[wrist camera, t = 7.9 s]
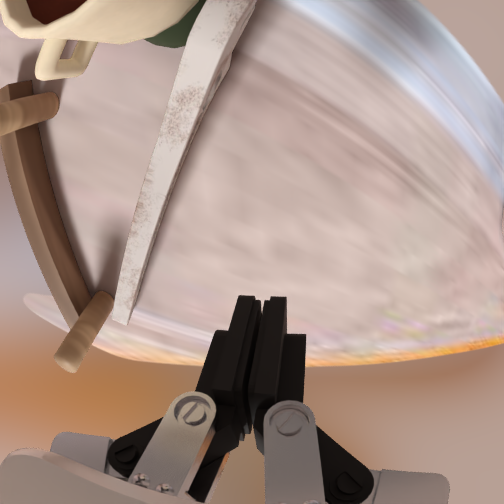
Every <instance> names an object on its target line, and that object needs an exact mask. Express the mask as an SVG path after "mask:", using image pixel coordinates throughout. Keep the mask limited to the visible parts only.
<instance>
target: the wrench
mask: <svg viewBox="0 0 504 504" xmlns="http://www.w3.org/2000/svg"><path fill="white" fill-rule="evenodd" d="M256 1H257V0H207V1H206V2H205V4H204V6H203V8H202V9H201V11H200V13H199V15H198V17H197V19H196V21H195V23H194V25H193V27H192V30H191V32H190V34H189V37H188V40H187V42H186V46H185V49H184V52H183V55H182V59H181V62H180V65H179V68H178V72H177V75H176V78H175V82H174V85H173V89H172V92H171V96H170V99H169V102H168V105H167V109H166V112H165V115H164V119H163V122H162V126H161V129H160V133H159V137H158V140H157V143H156V146H155V149H154V151H153V154H152V157H151V160H150V163H149V167H148V170H147V173H146V176H145V179H144V182H143V186H142V189H141V192H140V196H139V199H138V203H137V206H136V210H135V213H134V217H133V221H132V225H131V228H130V232H129V236H128V240H127V244H126V249H125V253H124V257H123V262H122V266H121V271H120V276H119V280H118V285H117V290H116V296H115V301H114V306H113V312H112V320H114V321H117V322H119V323H121V324H124V325H126V326H127V325H128V323H129V320H130V317H131V315H132V312H133V309H134V306H135V303H136V299H137V296H138V292H139V289H140V285H141V282H142V278H143V275H144V272H145V269H146V265H147V262H148V259H149V256H150V253H151V250H152V246H153V243H154V240H155V237H156V234H157V231H158V229H159V226H160V223H161V220H162V217H163V214H164V211H165V209H166V206H167V203H168V200H169V198H170V195H171V192H172V189H173V187H174V184H175V182H176V179H177V176H178V174H179V171H180V169H181V166H182V164H183V161H184V159H185V156H186V154H187V152H188V149H189V147H190V144H191V142H192V140H193V137H194V135H195V133H196V131H197V128H198V126H199V124H200V122H201V120H202V118H203V116H204V114H205V112H206V110H207V108H208V106H209V104H210V102H211V100H212V98H213V96H214V94H215V92H216V90H217V89H218V87H219V85H220V83H221V81H222V80H223V78H224V76H225V75H226V73H227V71H228V70H229V68H230V62H231V56H232V51H233V49H234V48H235V46H236V44H237V42H238V40H239V38H240V36H241V34H242V32H243V30H244V28H245V26H246V24H247V22H248V20H249V19H250V17H251V15H252V13H253V11H254V9H255V6H256V5H255V3H256Z"/></svg>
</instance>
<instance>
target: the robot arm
mask: <svg viewBox="0 0 504 504" xmlns="http://www.w3.org/2000/svg"><path fill="white" fill-rule="evenodd" d="M502 234H503V241H504V210H503V217H502ZM305 354H306V334H287V298H286V297H274V296H271V298H270V300H265V301H264V306H263V311H261V301H260V300H255V296H244V295H239V296H238V299H237V303H236V306H235V310H234V313H233V316H232V320H231V323H230V327H229V330H228V331H225V330H216V331H215V333H214V336H213V339H212V342H211V345H210V348H209V351H208V354H207V357H206V360H205V363H204V366H203V369H202V373H201V375H200V378H199V381H198V384H197V387H196V390H195V392H187V393H184V394H182V395H180V396H179V397H177V398H176V399H175V400H174V401H173V402H172V403H171V405H170V407H169V409H168V410H167V412H166V414H165V416H164V417H162V418H160V419H159V420H157V421H154V422H152V423H150V424H148V425H146V426H144V427H142V428H140V429H137V430H136V431H133V432H131V433H129V434H127V435H125V436H123V437H120V438H118V439H117V440H114V439H111V438H110V437H102V436H94V435H86V434H79V433H72V432H62V433H60V434H58V435H57V436H56V437H55V438H54V440H53V442H52V445H51V449H50V451H46V450H42V449H36V448H23V449H17V450H15V451H13V452H11V453H10V454H9V455H8V456H7V457H6V458H5V459H4V461H3V462H2V464H1V465H0V504H209V502H210V500H211V498H212V495H213V493H214V491H215V488H216V486H217V484H218V482H219V479H220V477H221V475H222V472H223V470H224V467H225V465H226V463H227V460H228V458H229V455H230V451H231V450H233V449H235V448H236V447H238V445H239V440H240V441H244V438H245V434H250V433H251V430H252V425H253V428H254V434H255V439H256V445H257V449H258V450H259V451H260V452H261V453H262V454H263V455H264V465H265V504H448V498H449V492H450V486H449V482H448V480H447V479H446V478H445V477H444V476H443V475H441V474H437V473H422V472H406V471H395V470H385V469H382V470H381V471H378V470H369V469H368V468H366V466H364V465H363V464H362V463H361V462H359V461H358V460H357V459H356V458H354V457H353V456H352V455H351V454H350V453H348V452H347V451H346V450H345V449H344V448H342V447H341V446H340V445H339V444H338V443H336V442H335V441H334V440H333V439H332V438H330V437H329V436H328V435H327V434H326V433H325V432H324V431H322V430H321V429H320V428H319V427H318V426H317V425H316V423H315V417H314V414H313V412H312V411H311V409H310V408H309V407H308V406H306V405H305V404H303V395H304V377H305Z"/></svg>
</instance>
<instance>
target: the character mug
mask: <svg viewBox="0 0 504 504" xmlns="http://www.w3.org/2000/svg"><path fill="white" fill-rule="evenodd" d="M206 1H207V0H0V12H1V15H2V18H3V22H4V25H5V26H6V27H8V28H9V29H10V30H11V31H12V32H14V33H15V34H16V35H17V36H18V37H20V38H29V39H33V38H42V39H45V41H44V43H43V46H42V48H41V51H40V54H39V56H38V59H37V62H36V65H35V75H36V78H37V79H39V80H42V81H46V80H53V79H62V78H71V77H77V76H79V75H81V74H83V73H84V71H85V69H86V68H87V66H88V64H89V61H90V59H91V57H92V55H93V52H94V50H95V48H96V46H97V44H98V42H104V43H112V44H120V45H122V44H125V43H129V42H133V41H137V40H141V39H144V40H146V41H148V42H150V43H152V44H154V45H158V46H164V47H170V48H178V47H182V46H186V42H187V40H188V37H189V34H190V32H191V30H192V27H193V25H194V23H195V21H196V19H197V17H198V15H199V13H200V11H201V9H202V8H203V6H204V4H205V2H206ZM67 40H78V43H77V45H76V47H75V49H74V52H73V54H72V56H71V58H70V59H60V56H61V54H62V52H63V49H64V47H65V44H66V42H67Z"/></svg>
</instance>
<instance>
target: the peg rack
mask: <svg viewBox="0 0 504 504" xmlns="http://www.w3.org/2000/svg"><path fill="white" fill-rule="evenodd" d="M58 109H59V100H58V97H57V95H56V94H55V93H53V92H46V93H41V94H36V95H33V89H32V80H29V81H23V82H18V83H12V84H8V85H6V86H5V87H3V88H1V89H0V144H1V149H2V153H3V157H4V162H5V166H6V170H7V174H8V178H9V182H10V185H11V188H12V192H13V195H14V199H15V202H16V205H17V208H18V211H19V214H20V217H21V220H22V223H23V226H24V229H25V232H26V234H27V237H28V240H29V242H30V245H31V247H32V250H33V252H34V255H35V257H36V260H37V262H38V264H39V267H40V269H41V271H42V274H43V276H44V278H45V280H46V283H47V285H48V287H49V289H50V291H51V293H52V295H53V297H54V299H55V301H56V303H57V305H58V307H59V309H60V311H61V313H62V315H63V317H64V319H65V321H66V322H67V324H68V326H69V328H70V332H69V333H68V335H67V336H66V338H65V339H64V341H63V343H62V344H61V346H60V347H59V349H58V350H57V352H56V354H55V355H54V359H55V361H56V362H57V364H58V365H59V366H60V367H62V368H63V369H64V370H66V371H68V372H71V373H75V372H76V371H77V369H78V367H79V365H80V364H81V362H82V360H83V358H84V357H85V355H86V353H87V351H88V350H89V348H90V346H91V344H92V343H93V341H94V339H95V337H96V336H97V334H98V332H99V331H100V329H101V327H102V326H103V324H104V322H105V321H106V319H107V317H108V316H109V314H110V312H111V311H112V309H113V306H114V299H113V298H112V296H111V295H110V294H108V293H107V292H104V291H98V292H96V294H95V295H94V297H93V298H91V296H90V294H89V292H88V289H87V287H86V284H85V282H84V280H83V277H82V275H81V272H80V270H79V267H78V265H77V262H76V260H75V257H74V254H73V252H72V249H71V246H70V243H69V241H68V238H67V235H66V232H65V229H64V226H63V223H62V220H61V217H60V213H59V210H58V207H57V204H56V200H55V197H54V193H53V190H52V186H51V182H50V178H49V175H48V171H47V166H46V162H45V158H44V153H43V149H42V144H41V139H40V134H39V129H38V122H41V121H45V120H48V119H51V118H53V117H54V116H55V115H56V114H57V112H58Z"/></svg>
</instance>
